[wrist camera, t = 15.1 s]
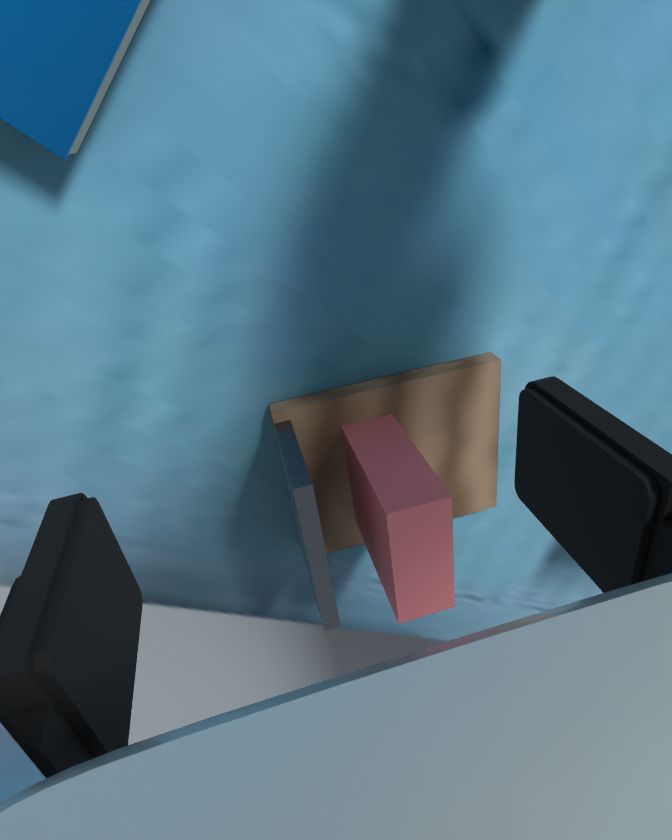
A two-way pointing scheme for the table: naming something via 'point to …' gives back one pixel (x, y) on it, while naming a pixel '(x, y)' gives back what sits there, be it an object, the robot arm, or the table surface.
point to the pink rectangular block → (401, 517)
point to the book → (61, 64)
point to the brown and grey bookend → (424, 424)
